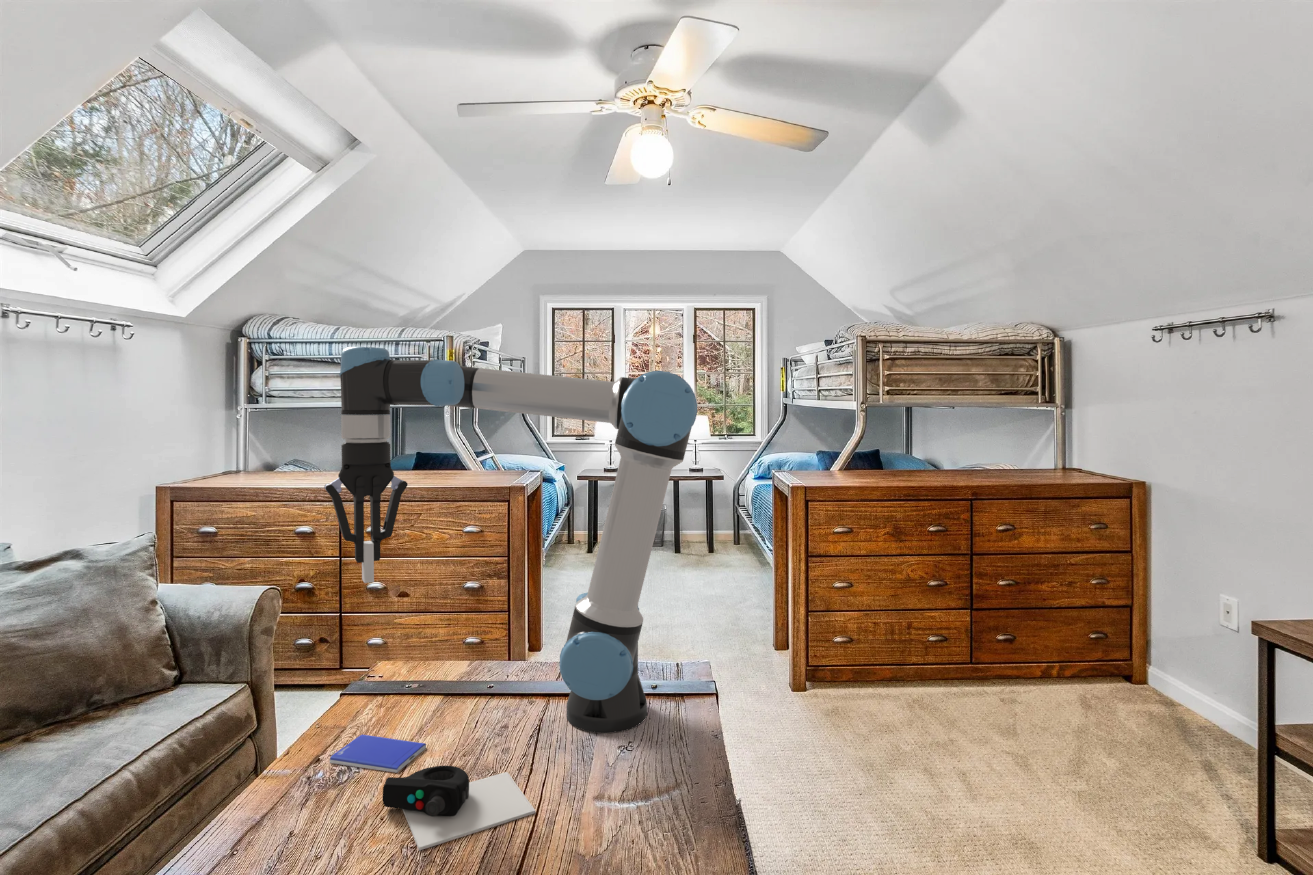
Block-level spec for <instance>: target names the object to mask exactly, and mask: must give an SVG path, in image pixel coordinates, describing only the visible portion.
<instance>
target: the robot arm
mask: <svg viewBox="0 0 1313 875" xmlns="http://www.w3.org/2000/svg"><path fill="white" fill-rule="evenodd" d="M340 355H341V356H340V372H339V378H340V399H341V400H340V401H341V402H340V404H341V405H340V406H341V410H340V412H341V415H340V416H341V421H340V422H341V423H340V424H341V425H340V428H341V429H340V430H341V439H343V440H344V441H345V442H342V444H341V445H340V446H341V447H340V448H341V469H340V471H339V473H338V477H337V478H336V479H335V480H332V481H331V482H330V483H328V482H327V483H325V484H324V490H325V491H326V493H328V495H329V496H330V497H331V501H332V504H333V508H334V511H335V515H336V518H337V521H338V526H339V528H340V532H341V536H342V538H343V539H344V541H345V542H352V543H353V544H354V559H355V562H356V563H357V564H359V563H360V564H361V581H363V583H364V584H369V583H375V562H380V559H381V542H382V541H383V540H385V539H388V538H391V537H392V535H393V532H394V527H395V523H396V518H397V516H398V510H399V507H400V502H401V498H402V494H403V493H404V492H405V490H406V489H407V487H408V482H407V481H406V480H403V479H401V478H398V477H397V476H395V472H394V470H393V468H392V466H391V465H392V464H391V443H390V441H388V439H390V438H391V406H431V407H432V406H434V407H446V406H447V407H459V408H467V409H478V410H480V409H481V410H488V411H497V412H505V413H506V412H507V413H515V414H516V413H517V414H525V415H532V416H542V417H543V416H544V417H552V418H553V417H554V418H562V419H563V418H564V419H571V420H581V421H589V422H596V423H597V422H599V423H605V424H611V425H612V426H613V428H614V429H616V430H617V433H616V438H615V441H614V442H615V443H614V446H615V449H617V451H618V454H619V455H620V460H619V464H618V468H617V472H616V476H615V480H614V484H613V489H612V491H611V497H610V500H609V504H608V509H607V513H606V515H605V516H606V517H605V520H604V525H603V529H602V533H601V537H600V541H599V546H598V549H597V553H596V556H595V557H596V558H595V562H594V567H593V570H592V574H591V579H590V583H589V587H588V591H587V592H582V593H581V594H579V595H578V596H577V597H576V600H575V605H574V609H573V614H572V618H571V620H570V621H571V622H570V625H569V629H568V634H567V637H566V641H565V643H564V645H563V647H562V648H561V650H560V654H559V672H560V676H561V679H562V680H563V683H564V684H565V685H566V686H567V688H568V689H569V690H570V693H569V694H568V695H569V696H568V699H567V701H566V719H567V722H568V723H569V724H571V726H573V727H575V728H577V729H579V730H582V731H586V732H588V733H589V732H590V733H596V734H597V733H598V734H599V733H600V734H602V733H603V734H604V733H605V734H607V733H608V734H609V733H610V734H611V733H619V732H623V731H627V729H628V730H630V729H631V730H632V729H633V728H632V727H634V728H635V726H636V725H638V724H639V723H641V722H642V721H643V720H644V719H645V718H646V719H647V717H646V716H648V700H647V697H646V694H645V691H644V688H643V685H642V681H641V679H640V678H641V677H640V676H639V639H640V635H641V631H642V627H643V623H644V617H643V615H642V613H641V612H640V607H639V602H640V598H641V594H642V589H643V586H644V581H645V578H646V573H647V570H648V566H649V562H650V559H651V558H650V557H651V553H652V549H653V547H654V546H653V545H654V541H655V537H656V533H657V529H658V525H659V522H660V517H661V513H662V509H663V505H664V501H665V498H666V492H667V489H668V485H669V481H670V478H671V473H672V470H673V469H674V467H675V468H676V466H678V465H680V464H681V463H683V462H684V459H685V456H686V455H685V454H686V451H687V448H688V444H689V440H690V436H691V432H692V427H693V426H694V424H695V421H696V419H697V414H698V402H697V398H696V394H695V392H694V390H693V388H692V387H691V385H690V384H689V383H688V382H687V381H686V380H685V379H684V378H683V377H681V376H680V375H679V374H676V373H673V372H670V371H663V370H653V371H649V372H645V373H643V374H641V375H639V376H638V377H635V378H633V377H625V376H620V377H619V378H618V379H617V380H615V381H610V380H608V381H607V380H600V379H589V378H588V379H587V378H580V377H569V376H561V375H551V374H550V375H549V374H541V373H533V372H532V373H531V372H530V373H529V372H522V371H513V370H511V371H510V370H502V369H493V368H492V369H491V368H483V367H479V368H478V367H474V366H465V365H463V366H462V365H460V363H458V362H457V361H455V360H445V359H439V358H438V359H417V360H415V359H413V360H412V359H411V360H409V359H407V360H406V359H405V360H403V359H401V360H397V359H391V357H390V352H389V350H388V349H386V348H383V347H375V346H371V347H370V346H349V347H346V348H344V349H343V350H342V351H341V353H340ZM390 483H391V484H390ZM342 485H343V486H344V488H346V489H347V491H349V493H350V494H351V496H353V533H352V531H351V527H350V524H349V520H348V517H347V514H346V510H345V507H344V503H343V499H342V497H341V495H340V493H342V491H343V490H342ZM389 485H390V488H391V493H390V497H389V502H388V505H387V510H386V514H385V517H384V518H385V519H384V523H383V526H382V530H381V500H382V498H381V497H382V496H381V495H382V494H383V493H384V492H385V490H386V489H387V488H388V486H389ZM368 496H369V502H370V503H369V507H370V508H369V511H370V516H369V517H370V538H371V540H366V541H365V510H364V509H365V506H364V504H365V497H368ZM646 719H645V720H646ZM645 720H644V721H645ZM644 721H643V722H644ZM643 722H642V723H643ZM642 723H641V724H642ZM639 725H640V724H639ZM639 725H638V726H639ZM636 727H637V726H636Z"/></svg>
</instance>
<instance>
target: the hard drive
mask: <svg viewBox="0 0 1313 875" xmlns="http://www.w3.org/2000/svg"><path fill="white" fill-rule="evenodd" d="M426 748H427V744H426V743H424V742H416V741H410V740H402V739H398V738H397V739H395V738H388V737H382V736H375V735H369V734H368V735H367V734H361V735H358V736H357V737H355V738H354V739H353V740H351V741H349V743H348V744H346V745H345V746H343V747H342V748H340V749H339V750H337V751H336V752H335V753H333V754H332V755H331V756H330V757H329V764H335V765H336V764H337V765H341V766H342V765H343V766H349V767H354V766H355V768H363V769H367V770H368V769H369V770H376V771H384V772H387V773H388V772H389V773H390V772H391V773H394V774H395V773H396V774H397V773H399V772H400V771H401V770H402V769H403V768H405V767H406V766H407V765H409V763H410V762H412V761H413V760H414V759H415V758H416V757H417V756H419V755H420V754H421V753H422V752H424V751H425V750H426Z"/></svg>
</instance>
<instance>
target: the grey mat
mask: <svg viewBox="0 0 1313 875" xmlns="http://www.w3.org/2000/svg"><path fill="white" fill-rule="evenodd" d="M401 810H402V812H403V815H404V817H405V820H406V822H407V824H408V827H409V829H410V832H411V834H412V836H413V840H414V842H415V844H416V847H417V849H418V851H422V850H424V849H425V850H426V849H428V848H432V847H435V846H438V845H441V844H444V843H447V842H450V841H453V840H456V839H459V838H463V837H466V836H468V835H472V834H475V833H478V832H481V831H485V830H488V829H491V828H494V827H497V826H499V825H503V824H506V823H509V822H512V821H515V820H519V819H521V818H524V817H527V816H531V815H533V814H534V815H535V814H536V809H535V808H534V806H533V805H532V804H531V802H530V801H529V799H528V798H527V797H526V795H525V794H524V793H523V791H522V789H520V787H519V786H518V783H516V782H515V780H514V779H513V778H512V776H511V775H510V773H509V772H508V771H505V772H501V773H498V774H494V775H491V776H488V777H485V778H481V779H476V780H473V781H469V797H468V799H466V800H465V803H463V805H462V806H461V808H460V809H459V810H458V812H457V814H456V815H455V816H450V817H448V816H429V815H427V814H426V813H424V812H419V811H412V810H405V809H401Z"/></svg>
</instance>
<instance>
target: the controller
mask: <svg viewBox="0 0 1313 875" xmlns="http://www.w3.org/2000/svg"><path fill="white" fill-rule="evenodd" d="M469 778H470V777H469V775H468V773H467V771H466V770H464V769H462V768H460V767H458V766H454V765H438V766H437V765H436V766H430V767H426V768H422V769H420V770H417V771H415V772H413V773H412V774H410V775H407V776H404V777H403V776H402V777H395V776H394V777H392V776H391V777H390V776H388V777H387V778H386V780H385V782H384V784H383V788H382V803H383V805H384V807H385V808H391V809H399V810H402V809H405V810H412V811H419V812H424V813H426V814H427V815H429V816H448V817H450V816H455V815H456V814H457V812H458V810H459V809H460V808H461V806H462V805H463V803H465V800H466V799H468V797H469V782H470V779H469Z"/></svg>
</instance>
